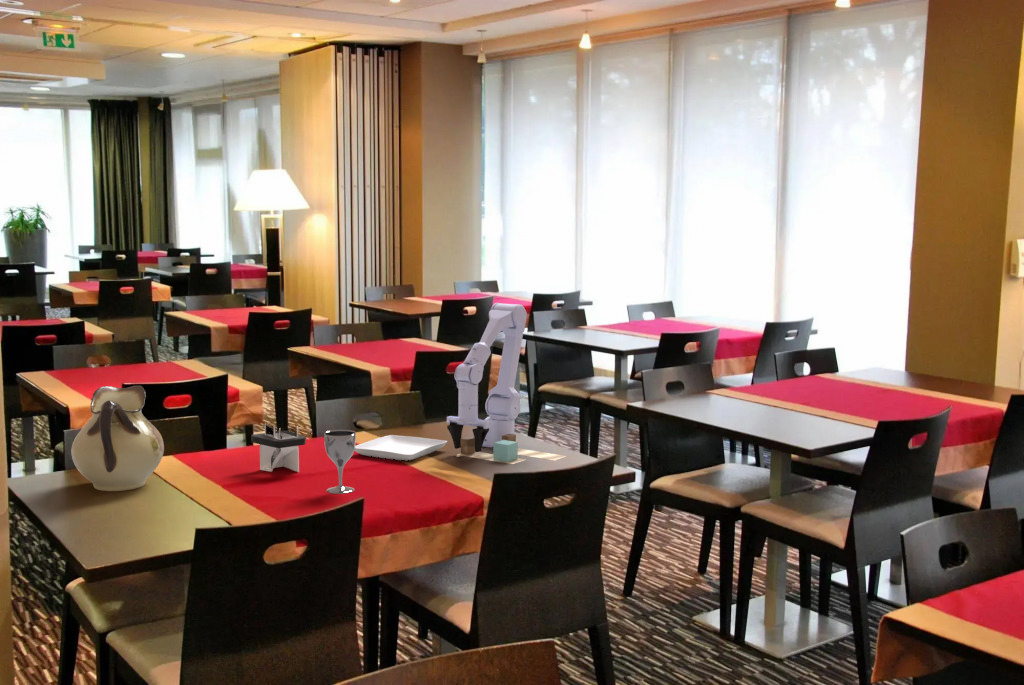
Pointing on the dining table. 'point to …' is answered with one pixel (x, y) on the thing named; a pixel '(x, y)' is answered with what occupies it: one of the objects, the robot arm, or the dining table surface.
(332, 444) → the wine glass
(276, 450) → the black-topped pedestal
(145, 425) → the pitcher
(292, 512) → the dining table surface
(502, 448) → the teal block
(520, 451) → the empty strip
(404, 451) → the salad plate
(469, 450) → the strip
